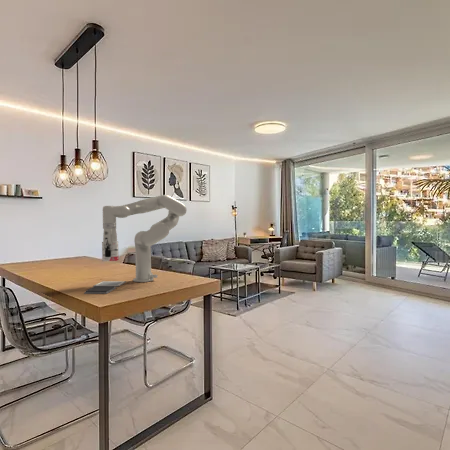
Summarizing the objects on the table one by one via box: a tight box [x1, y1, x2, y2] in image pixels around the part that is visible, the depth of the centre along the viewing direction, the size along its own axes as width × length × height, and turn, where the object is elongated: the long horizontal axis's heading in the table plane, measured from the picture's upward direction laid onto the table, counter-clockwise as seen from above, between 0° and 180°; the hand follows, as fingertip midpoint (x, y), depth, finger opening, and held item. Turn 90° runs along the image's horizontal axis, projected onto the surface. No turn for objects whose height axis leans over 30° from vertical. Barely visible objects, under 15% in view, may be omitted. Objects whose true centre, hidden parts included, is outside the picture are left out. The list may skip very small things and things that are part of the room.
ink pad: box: [84, 285, 117, 295], centre depth 164 cm, size 12×12×2 cm
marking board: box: [93, 280, 127, 287], centre depth 182 cm, size 15×13×1 cm
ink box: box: [101, 240, 120, 262], centre depth 182 cm, size 8×5×12 cm, turn 95°
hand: (110, 255), depth 182 cm, fingers closed on ink box, 5 cm apart
